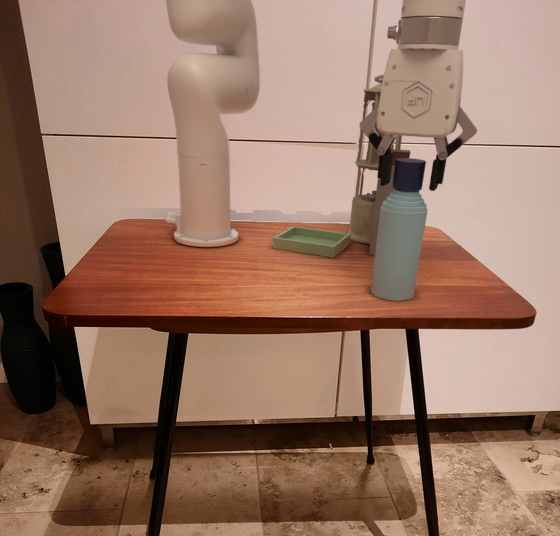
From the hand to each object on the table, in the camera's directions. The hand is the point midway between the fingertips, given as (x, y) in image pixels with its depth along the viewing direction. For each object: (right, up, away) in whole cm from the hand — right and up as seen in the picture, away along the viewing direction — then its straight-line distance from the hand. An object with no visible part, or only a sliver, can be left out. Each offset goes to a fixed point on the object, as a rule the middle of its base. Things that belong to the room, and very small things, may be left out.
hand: (408, 185), depth 77 cm
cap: (0, 0, 0) cm, 0 cm away
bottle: (-1, -14, +8) cm, 16 cm away
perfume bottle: (+2, -3, +28) cm, 28 cm away
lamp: (+1, +2, +37) cm, 37 cm away
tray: (-12, -2, +29) cm, 32 cm away
